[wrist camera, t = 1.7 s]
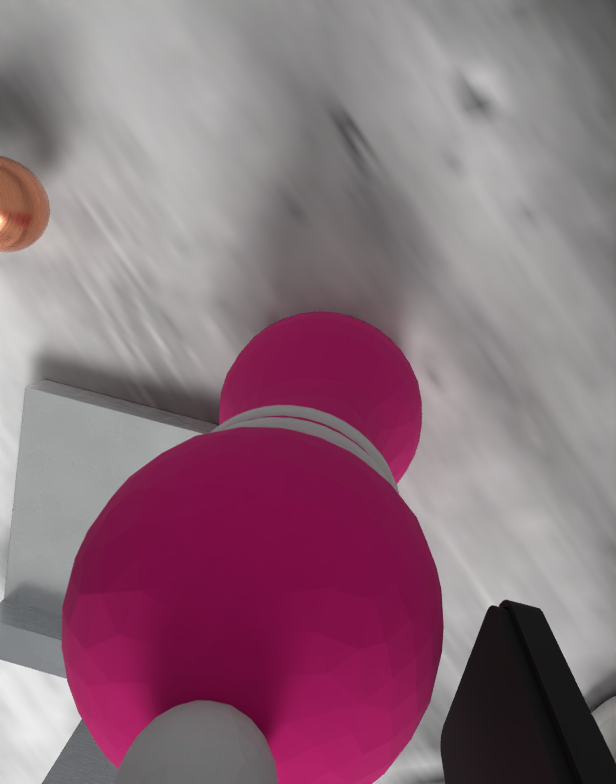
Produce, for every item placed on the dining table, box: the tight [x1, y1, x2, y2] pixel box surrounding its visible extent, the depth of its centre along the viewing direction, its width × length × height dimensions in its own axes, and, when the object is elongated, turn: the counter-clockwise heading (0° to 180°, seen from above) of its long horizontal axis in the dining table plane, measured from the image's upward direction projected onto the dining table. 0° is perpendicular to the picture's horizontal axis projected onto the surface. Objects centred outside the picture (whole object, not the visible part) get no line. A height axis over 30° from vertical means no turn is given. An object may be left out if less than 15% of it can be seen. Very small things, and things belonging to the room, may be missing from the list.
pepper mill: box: [61, 312, 444, 784], centre depth 15 cm, size 7×7×20 cm
